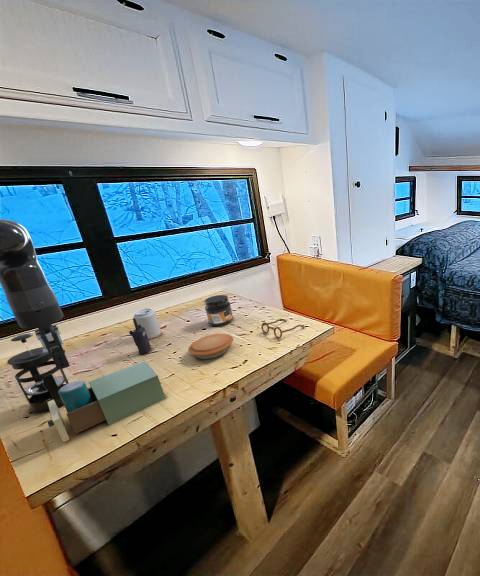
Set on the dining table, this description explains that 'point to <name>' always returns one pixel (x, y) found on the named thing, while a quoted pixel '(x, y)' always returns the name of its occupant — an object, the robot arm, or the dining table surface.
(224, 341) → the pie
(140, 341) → the two-way radio
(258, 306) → the dining table surface
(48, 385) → the french press
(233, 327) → the dining table surface
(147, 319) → the can
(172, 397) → the dining table surface
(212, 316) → the supplement container
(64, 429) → the drawer
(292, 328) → the glasses
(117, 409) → the cabinet
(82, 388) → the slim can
